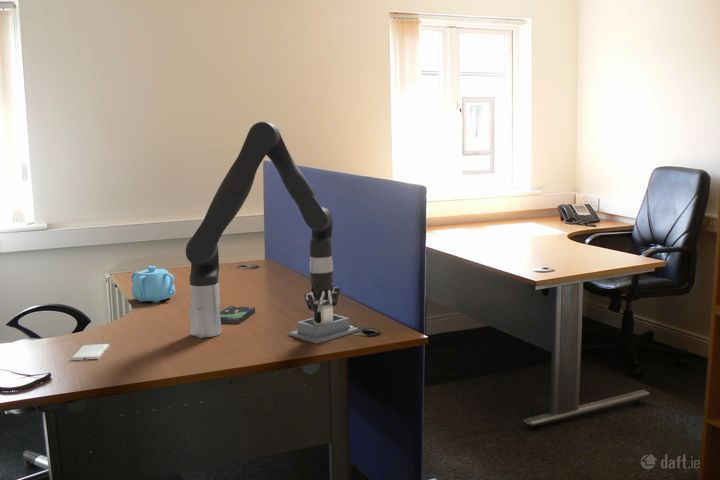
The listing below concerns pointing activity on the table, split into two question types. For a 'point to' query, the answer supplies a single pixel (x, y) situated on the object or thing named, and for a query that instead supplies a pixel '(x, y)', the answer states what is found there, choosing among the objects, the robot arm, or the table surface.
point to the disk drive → (236, 314)
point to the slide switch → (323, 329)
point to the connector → (325, 313)
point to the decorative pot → (152, 285)
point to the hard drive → (90, 352)
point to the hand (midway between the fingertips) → (323, 320)
